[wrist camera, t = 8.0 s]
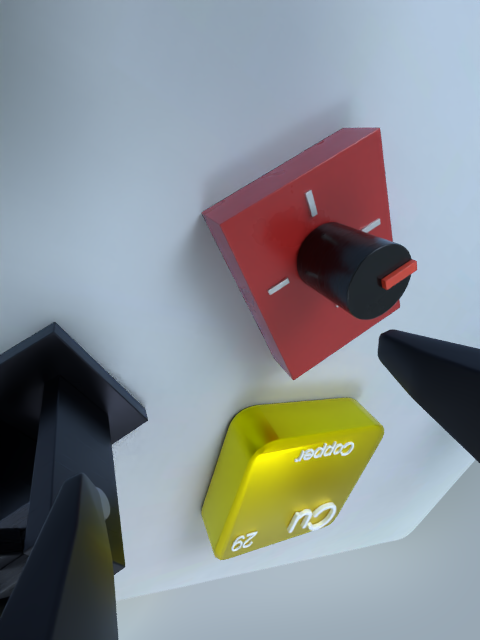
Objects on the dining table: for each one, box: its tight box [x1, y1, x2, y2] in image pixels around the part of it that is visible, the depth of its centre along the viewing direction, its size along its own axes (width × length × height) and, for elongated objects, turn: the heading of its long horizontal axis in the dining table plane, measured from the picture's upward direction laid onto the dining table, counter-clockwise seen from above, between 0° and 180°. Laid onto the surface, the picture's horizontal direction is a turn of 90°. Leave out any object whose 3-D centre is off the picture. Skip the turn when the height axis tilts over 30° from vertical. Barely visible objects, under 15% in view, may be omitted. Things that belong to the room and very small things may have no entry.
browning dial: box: [297, 222, 417, 320], centre depth 18 cm, size 4×4×5 cm
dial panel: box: [202, 128, 400, 380], centre depth 21 cm, size 13×10×3 cm
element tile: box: [201, 398, 384, 560], centre depth 31 cm, size 15×15×5 cm
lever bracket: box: [0, 322, 148, 617], centre depth 16 cm, size 9×8×10 cm
